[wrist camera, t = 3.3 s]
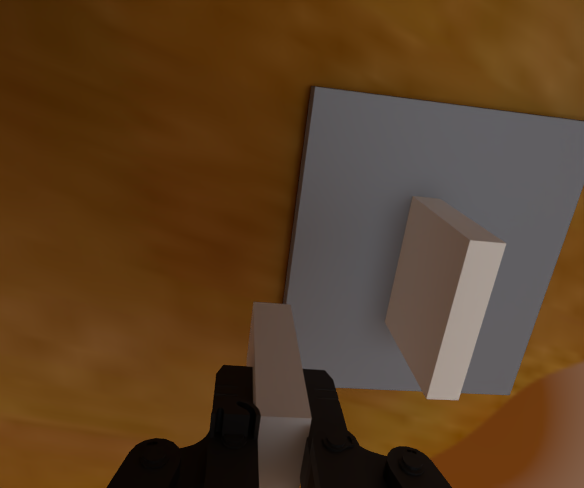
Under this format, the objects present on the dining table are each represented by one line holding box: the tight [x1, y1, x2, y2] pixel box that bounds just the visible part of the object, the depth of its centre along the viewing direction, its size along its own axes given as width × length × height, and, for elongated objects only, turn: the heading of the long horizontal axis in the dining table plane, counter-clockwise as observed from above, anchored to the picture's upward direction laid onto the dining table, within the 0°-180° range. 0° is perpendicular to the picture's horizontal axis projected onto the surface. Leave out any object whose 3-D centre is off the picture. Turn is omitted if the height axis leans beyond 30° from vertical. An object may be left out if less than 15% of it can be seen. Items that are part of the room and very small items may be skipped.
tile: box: [385, 196, 506, 400], centre depth 23 cm, size 8×2×7 cm, turn 173°
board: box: [283, 86, 584, 395], centre depth 28 cm, size 18×16×2 cm
